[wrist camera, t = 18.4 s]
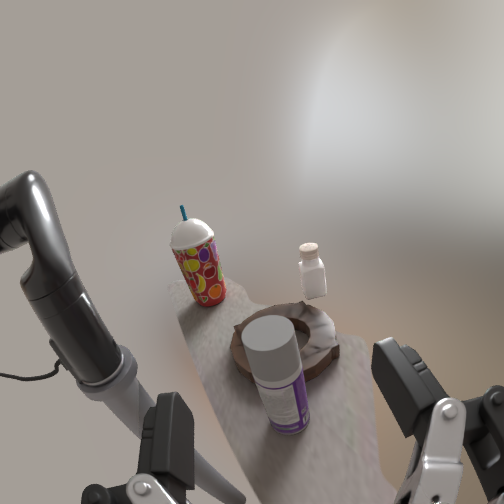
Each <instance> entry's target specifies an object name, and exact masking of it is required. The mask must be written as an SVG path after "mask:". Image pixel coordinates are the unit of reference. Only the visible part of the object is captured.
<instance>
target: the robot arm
mask: <svg viewBox="0 0 504 504" xmlns="http://www.w3.org/2000/svg"><path fill="white" fill-rule="evenodd" d="M27 243H29V245H30V248H31V251H32V255H33V261H32V264H31V266H30V267H29V268H28V269H27V271H26V272H25V273H24V274H23V276H22V277H21V280H20V285H21V288H22V290H23V292H24V294H25V296H26V298H27V299H28V301H29V303H30V305H31V307H32V308H33V310H34V312H35V313H36V315H37V316H38V318H39V320H40V321H41V323H42V325H43V326H44V328H45V330H46V331H47V333H48V334H49V336H50V337H51V338H50V340H49V343H50V345H51V347H52V348H53V350H54V351H55V352H56V354H57V355H58V357H59V359H58V361H56V363H55V366H54V367H55V370H54V371H52V372H51V373H48V374H45V375H41V376H35V377H19V376H15V375H9V374H4V373H0V376H2V377H7V378H13V379H17V380H21V381H35V380H42V379H46V378H49V377H52V376H54V375H55V374H57V373H58V371H59V367H58V366H59V365H60V364H62V365H63V367H64V368H65V369H66V370H69V371H70V372H71V374H72V375H73V376H74V378H75V379H76V380H77V381H78V383H79V384H85V385H87V386H89V387H100V386H103V385H106V384H108V383H110V382H111V381H113V380H114V379H115V378H116V377H117V376H118V375H119V374H120V372H121V371H122V369H123V367H124V365H125V356H124V354H123V352H122V351H121V349H120V348H119V347H118V345H117V344H116V342H115V341H114V339H113V337H112V336H111V334H110V332H109V331H108V329H107V327H106V326H105V324H104V322H103V321H102V319H101V317H100V315H99V314H98V312H97V310H96V308H95V306H94V305H93V303H92V301H91V299H90V297H89V295H88V293H87V291H86V289H85V287H84V285H83V283H82V281H81V279H80V277H79V275H78V273H77V271H76V269H75V267H74V265H73V263H72V260H71V256H70V251H69V247H68V244H67V241H66V239H65V236H64V233H63V231H62V228H61V224H60V221H59V218H58V215H57V212H56V208H55V205H54V202H53V198H52V195H51V193H50V190H49V188H48V186H47V184H46V182H45V180H44V179H43V177H42V176H41V175H40V174H39V173H38V172H36V171H33V170H29V171H26V172H24V173H21V174H20V175H18V176H16V177H15V178H13V179H11V180H10V181H8V182H7V183H5V184H3V185H2V186H0V254H2V253H4V252H8V251H11V250H14V249H16V248H19V247H21V246H23V245H25V244H27ZM371 369H372V374H373V377H374V379H375V381H376V383H377V385H378V387H379V389H380V390H381V392H382V394H383V396H384V398H385V400H386V402H387V403H388V405H389V407H390V409H391V411H392V413H393V415H394V417H395V418H396V421H397V422H398V424H399V426H400V428H401V430H402V432H403V434H404V436H405V438H407V437H409V436H411V435H413V434H414V436H415V438H416V442H415V446H414V449H413V453H412V456H411V460H410V464H409V467H408V470H407V473H406V476H405V479H404V482H403V484H402V485H401V487H400V489H399V491H398V494H397V496H396V499H395V501H394V504H433V503H432V502H433V501H434V504H455V502H456V498H457V494H458V490H459V487H460V482H461V478H462V474H463V464H462V463H461V462H460V456H461V450H462V445H463V446H464V448H465V449H466V451H467V454H468V456H469V458H470V460H471V462H472V464H473V467H474V469H475V471H476V473H477V476H478V478H479V480H480V483H481V485H482V487H483V490H484V492H485V495H486V497H487V500H488V504H504V387H503V386H499V385H496V386H492V387H490V388H489V389H487V391H486V392H485V394H484V395H483V396H481V397H477V398H474V399H470V400H466V401H460V400H458V399H456V398H451V397H449V396H448V395H447V394H446V392H445V391H444V389H443V388H442V386H441V385H440V384H439V382H438V381H437V379H436V378H435V377H434V375H433V374H432V372H431V371H430V370H429V369H428V368H427V365H426V364H425V363H424V361H422V359H421V357H420V356H419V354H418V353H417V352H416V351H415V350H414V349H412V348H410V347H409V346H407V345H403V346H399V345H398V344H397V342H396V341H395V340H394V339H393V338H392V337H389V338H387V339H384V340H382V341H379V342H376V343H374V346H373V355H372V364H371ZM194 485H195V484H194V419H193V415H192V412H191V410H190V409H189V408H188V406H187V405H186V403H185V402H184V400H183V399H182V398H181V396H180V395H179V393H178V392H171V393H162V394H159V395H158V397H157V404H156V407H150V408H149V410H148V412H147V414H146V415H145V417H144V423H143V430H142V439H141V445H140V453H139V461H138V469H137V473H136V475H135V476H133V477H132V478H130V479H129V481H128V483H127V484H124V485H120V486H116V487H111V488H104V487H103V486H101V485H99V484H91V485H89V486H87V487H86V488H85V489H84V491H83V493H82V500H81V504H191V503H190V501H189V500H187V498H186V490H194V489H195V488H194V487H195V486H194Z"/></svg>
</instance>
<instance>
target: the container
mask: <svg viewBox="0 0 504 504" xmlns="http://www.w3.org/2000/svg"><path fill="white" fill-rule="evenodd" d="M242 342H243V345H244V349H245V352H246V355H247V358H248V361H249V365H250V368H251V371H252V374H253V377H254V380H255V383H256V386H257V388H258V391H259V394H260V396H261V399H262V402H263V404H264V407H265V410H266V412H267V415H268V417H269V420H270V423H271V425H272V427H273V429H274V430H275V431H276V432H278V433H280V434H283V435H293V434H297V433H299V432H301V431H302V430H304V429H305V428H306V426H307V425H308V423H309V420H310V415H309V408H308V401H307V394H306V388H305V381H304V375H303V368H302V363H301V358H300V353H299V348H298V344H297V339H296V334H295V330H294V325H293V323H292V322H291V321H290V320H289V319H287V318H285V317H283V316H278V315H268V316H263V317H260V318H257V319H255V320H253V321H252V322H250V323H249V324H248V325H247V326H246V327H245V328H244V330H243V332H242Z"/></svg>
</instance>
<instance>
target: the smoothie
mask: <svg viewBox="0 0 504 504" xmlns="http://www.w3.org/2000/svg"><path fill="white" fill-rule="evenodd" d="M180 209H181V212H182V216H183V219H184V220H182V221H181V222H179V223H178V224H177V225H176V227H175V228H174V230H173V232H172V237H171V243H170V247H171V248H172V251H173V253H174V255H175V258H176V260H177V262H178V265H179V267H180V269H181V271H182V273H183V276H184V278H185V280H186V282H187V284H188V287H189V289H190V291H191V293H192V295H193V297H194V299H195V301H196V302H198V303H199V304H200V305H202V306H206V307H208V306H213V305H216V304H218V303H220V302H221V301H222V300H223V299H224V298H225V293H226V286H225V282H224V278H223V273H222V269H221V265H220V261H219V256H218V252H217V247H216V243H215V239H214V233H213V230H211V229H210V228H209V227H208V226H207V225H206V224H205V223H204V222H203V221H201V220H199V219H195V218H188V219H187V216H186V213H185V210H184V207H183V205H181V206H180Z"/></svg>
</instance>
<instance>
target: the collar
mask: <svg viewBox="0 0 504 504" xmlns="http://www.w3.org/2000/svg"><path fill="white" fill-rule="evenodd" d="M268 315H278V316H283V317H285V318H287V319H289V320H290V321H291V322H292V323H293V325H294V330H300V331H302V332H303V333H305V334H307V335H308V337H309V340H308V342H307V344H306V345H305V346H304V347H303V348H301V349H300V350H299V353H300V358H301V363H302V368H303V375H304V381H305V382H306V381H308V380H311V379H313V378H315V377H317V376H318V375H319V374H320V373H321V372H322V371H323V370H324V369H325V368H326V367H327V366H328V365H329V364H330V363H331V361H332V360H333V359H335V358H337V357H339V356H340V354H339V344H338V342H337V341H336V332H335V328H334V322H333V321H332V320H331V319H330V318H329V317H328V315H327V314H326V313H325V312H324V311H322V310H319V309H317V308H315V307H312V306H310V305H306V304H305V303H304V302H303V301H301V302H299V303H289V304H281V305H274V306H271V307H269V308H266V309H263V310H260V311H258V312H256V313H254V314H253V315H252V316H250V317H249V318H247V319H246V320H244V321H243V322H242V323H241V324H239V325H236V326H234V329H235V332H234V334H233V337H232V342H231V346H230V349H231V351H232V354H233V357H234V360H235V362H236V365H237V367H238V370H239V372H240V373H241V374H242V375H244V376H245V377H246V378H247V379H248V380H250V381H251V382H252V383H255V380H254V377H253V374H252V371H251V368H250V365H249V361H248V358H247V355H246V352H245V349H244V345H243V342H242V332H243V330H244V328H245V327H246V326H247V325H248V324H249V323H250V322H252V321H253V320H255V319H257V318H260V317H263V316H268ZM255 384H256V383H255Z"/></svg>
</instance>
